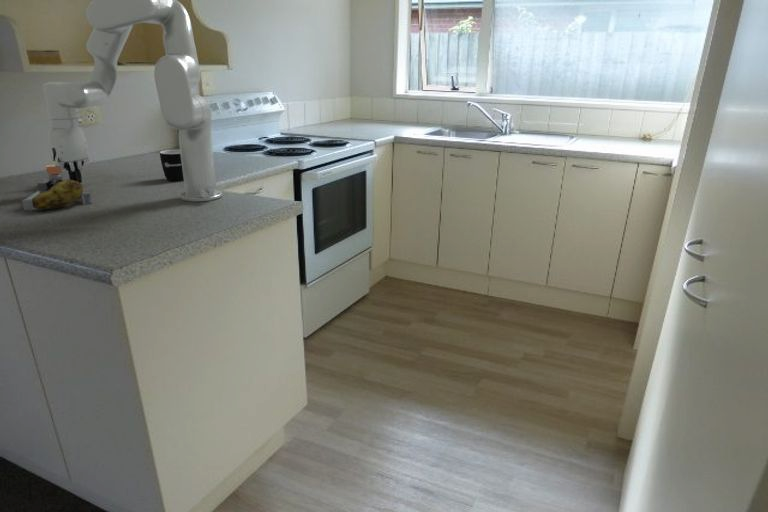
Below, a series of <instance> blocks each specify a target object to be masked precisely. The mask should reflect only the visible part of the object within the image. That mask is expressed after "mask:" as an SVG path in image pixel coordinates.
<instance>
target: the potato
mask: <svg viewBox="0 0 768 512" xmlns="http://www.w3.org/2000/svg"><path fill="white" fill-rule="evenodd" d="M82 191H84V186H83V184H82V183H79V182H77V181H74V180H65V181H61V182H59V183H57V184H55V185H54V186H53V187H52V188H51V189H50V190H48V191H45V192H43V193H41V194H39V195H37V196H35V197H34V198H33V199H32V204H33V207H34V208H35V209H36V210H38V211H39V210H40V211H45V210H54V209H60V208H63V207H65V206H68V205H69V204H72V203H73V202H76V201H77V200H78V199H81V198H82Z"/></svg>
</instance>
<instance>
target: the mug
mask: <svg viewBox="0 0 768 512" xmlns="http://www.w3.org/2000/svg"><path fill="white" fill-rule="evenodd" d="M159 158H160V162H161V167H162V170H163V174H164V176H165V178H166V180H167V182H171V183H173V182H184V178H183V170H182V162H181V154H180V149H165V150H162V151H160V152H159Z"/></svg>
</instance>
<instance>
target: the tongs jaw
mask: <svg viewBox="0 0 768 512" xmlns="http://www.w3.org/2000/svg"><path fill="white" fill-rule="evenodd" d="M55 178H56V179H57V183H59V182H61V181H65V180H71V179H70V177H69V178H68V177H67V176H62V177H61V176H57V177H55ZM76 201H77V202H79V203H81V204H82V206H83V205H90V204H93V201H92V196H91V193H89V192H85V191H84V190H83V191H82V198H81V199H78V200H76Z"/></svg>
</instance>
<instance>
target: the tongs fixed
mask: <svg viewBox="0 0 768 512" xmlns="http://www.w3.org/2000/svg"><path fill="white" fill-rule="evenodd" d="M57 176H61V177H63V176H62V173H58V174H48V178H46V177H45V178H44V179H42V180H40V181H39V182H37V189H38V190H37V191H36V192H34V193H32V194H31V195H30V196H28V197H26V198H25V199H22V200H21V203H22V207H23V211H24V210H27V211H35V210H34V209H36V208H34V207H33V204H32V199H33V198H34V197H35V196H37V195H39V194H41V193H43V192H45V191H48V190H50V189H51V188H52V187H53V186H54V185H55V184H57V179H56V178H55V177H57Z"/></svg>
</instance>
